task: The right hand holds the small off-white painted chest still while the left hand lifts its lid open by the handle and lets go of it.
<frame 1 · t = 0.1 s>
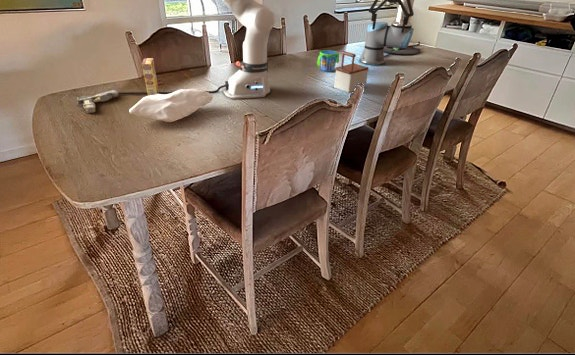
right hand: (387, 30, 171), 28 cm above the table, tool pointing down, fingers open, 13 cm apart
chest: (349, 87, 186), on the table
lid: (352, 60, 179), point 13 cm above the table, hinge at 0.0°
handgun: (101, 103, 156), on the table
candy box: (153, 94, 167), on the table
snack cup: (327, 70, 210), on the table
crumpled cloth: (172, 113, 149), on the table
grey round tray: (395, 49, 261), on the table
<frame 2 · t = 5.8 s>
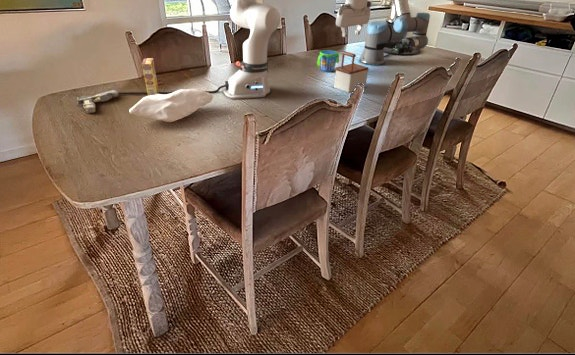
left hand: (350, 35, 170), 26 cm above the table, tool pointing down, fingers open, 8 cm apart
right hand: (386, 49, 193), 16 cm above the table, tool horizontal, fingers open, 13 cm apart
nothing on the table moved.
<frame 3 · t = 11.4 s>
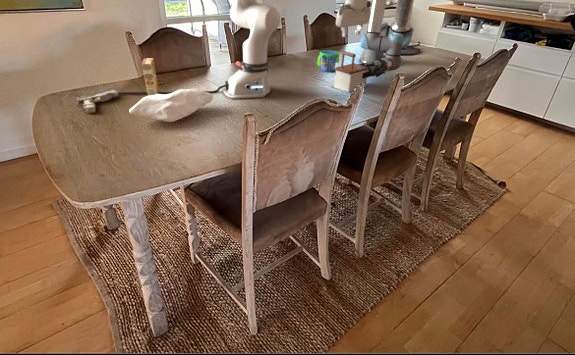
left hand: (350, 35, 170), 26 cm above the table, tool pointing down, fingers open, 8 cm apart
right hand: (355, 73, 184), 7 cm above the table, tool horizontal, fingers closed on chest, 9 cm apart
chest: (349, 87, 186), on the table, touching right hand
everything else where it was.
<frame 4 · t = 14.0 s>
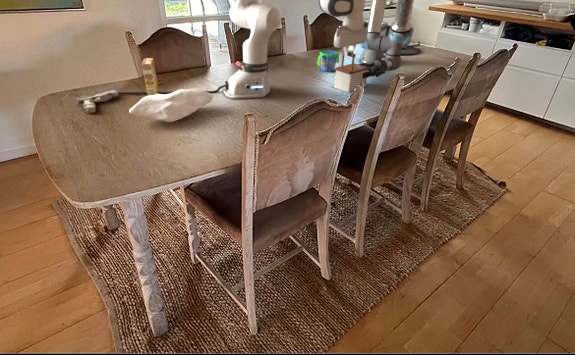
left hand: (348, 54, 175), 17 cm above the table, tool pointing down, fingers closed on lid, 2 cm apart
right hand: (355, 73, 184), 7 cm above the table, tool horizontal, fingers closed on chest, 9 cm apart
chest: (349, 87, 186), on the table, touching right hand
lid: (352, 60, 179), point 13 cm above the table, hinge at -0.1°, touching left hand
everything else where it was.
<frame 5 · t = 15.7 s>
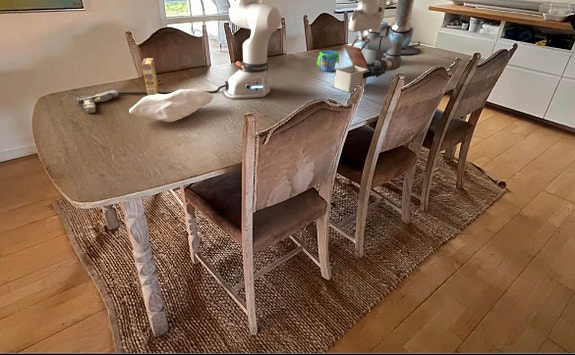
left hand: (362, 39, 177), 23 cm above the table, tool pointing down, fingers closed on lid, 2 cm apart
right hand: (355, 73, 184), 7 cm above the table, tool horizontal, fingers closed on chest, 9 cm apart
chest: (349, 87, 186), on the table, touching right hand
lid: (360, 50, 180), point 18 cm above the table, hinge at 47.9°, touching left hand
everything else where it was.
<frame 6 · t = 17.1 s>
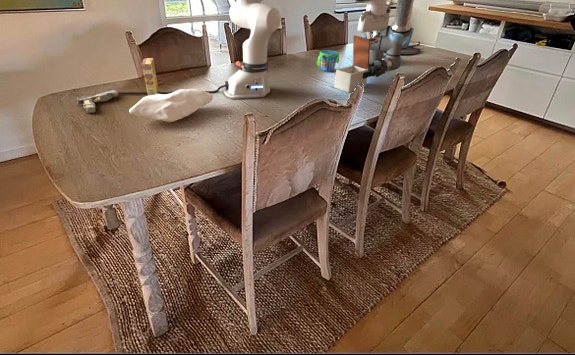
left hand: (371, 40, 182), 22 cm above the table, tool pointing down, fingers closed
right hand: (355, 73, 184), 7 cm above the table, tool horizontal, fingers closed on chest, 9 cm apart
chest: (349, 87, 186), on the table, touching right hand
lid: (366, 49, 182), point 17 cm above the table, hinge at 79.2°
everything else where it was.
when the right hand's fingers open (7 cm above the table, at t = 20.9 s): chest stays where it is, on the table.
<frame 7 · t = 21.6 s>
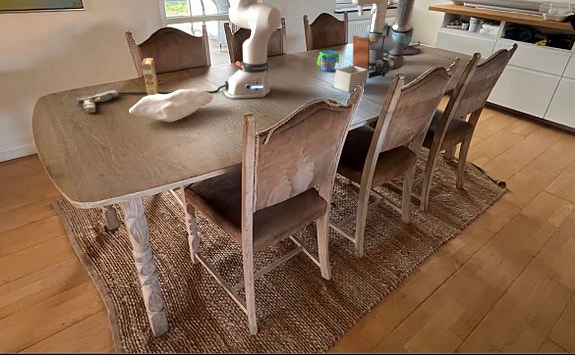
left hand: (366, 14, 171), 34 cm above the table, tool pointing down, fingers open, 8 cm apart
right hand: (358, 72, 186), 7 cm above the table, tool horizontal, fingers open, 13 cm apart
chest: (349, 87, 186), on the table
lid: (366, 49, 182), point 18 cm above the table, hinge at 78.5°
everything else where it was.
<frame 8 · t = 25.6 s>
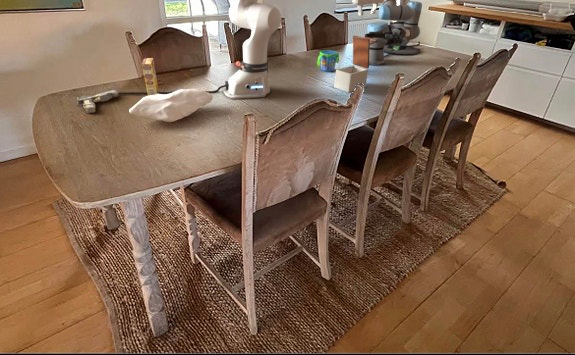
left hand: (366, 14, 171), 34 cm above the table, tool pointing down, fingers open, 8 cm apart
right hand: (375, 39, 184), 22 cm above the table, tool horizontal, fingers open, 13 cm apart
nothing on the table moved.
at the end: lid at +78° (first picture: +0°); the left hand is holding nothing; the right hand is holding nothing; chest tilted 0°; chest never tilted more than 1° during the clip; chest moved 0.0 cm from its start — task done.
